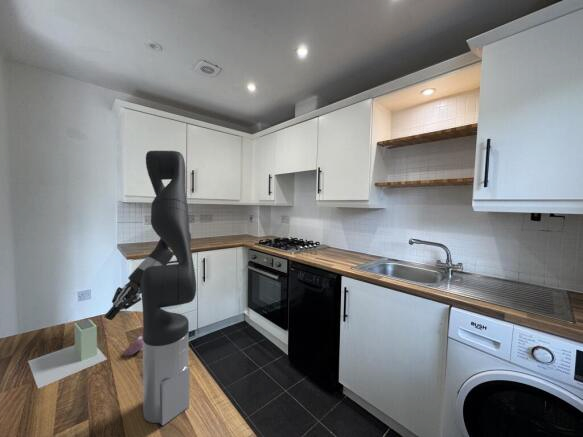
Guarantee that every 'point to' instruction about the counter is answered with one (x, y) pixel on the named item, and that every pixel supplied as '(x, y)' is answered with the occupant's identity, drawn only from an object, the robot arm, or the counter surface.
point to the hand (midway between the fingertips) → (107, 318)
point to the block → (85, 339)
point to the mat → (60, 365)
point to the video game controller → (135, 346)
